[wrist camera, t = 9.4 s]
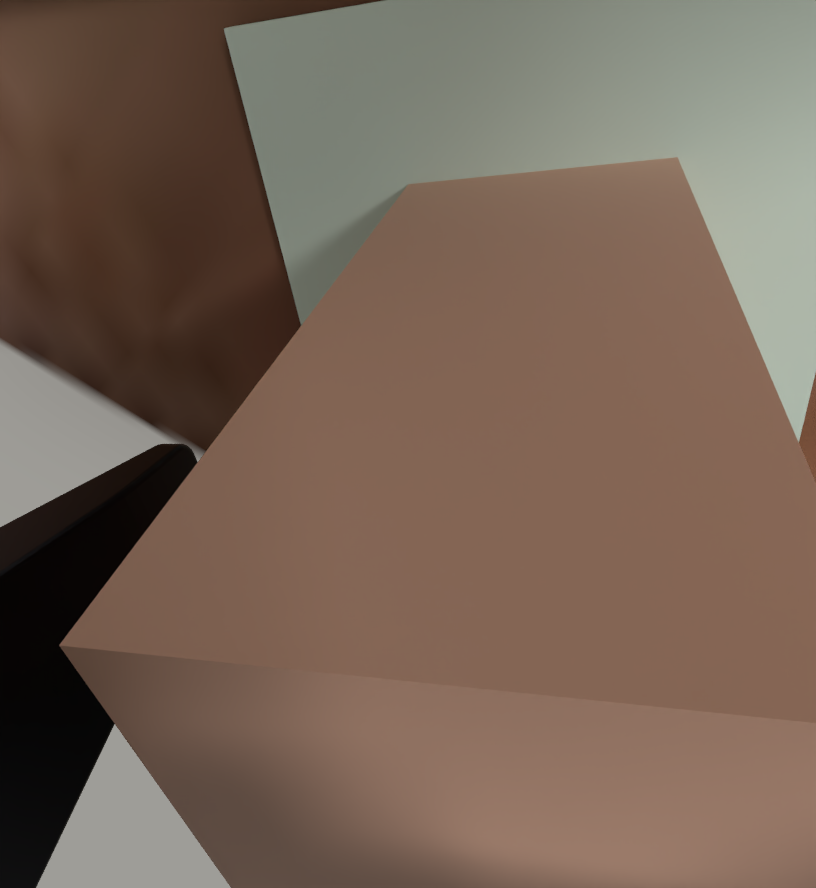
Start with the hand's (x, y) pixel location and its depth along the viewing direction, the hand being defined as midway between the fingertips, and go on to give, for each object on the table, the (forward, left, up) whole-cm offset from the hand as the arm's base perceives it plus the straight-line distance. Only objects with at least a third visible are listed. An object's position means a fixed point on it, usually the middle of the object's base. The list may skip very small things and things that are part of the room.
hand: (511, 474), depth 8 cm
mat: (0, 0, -6) cm, 6 cm away
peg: (0, 0, -5) cm, 5 cm away
